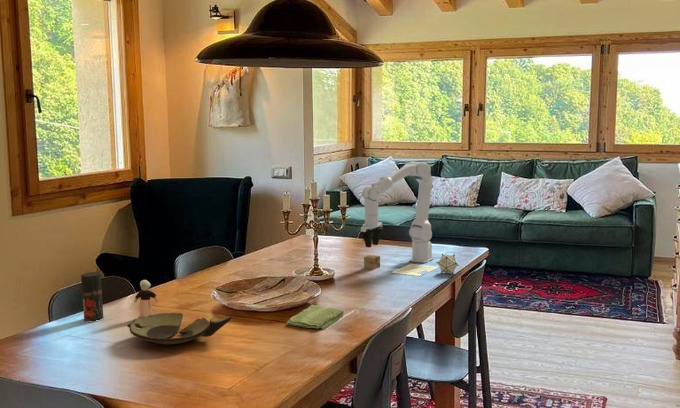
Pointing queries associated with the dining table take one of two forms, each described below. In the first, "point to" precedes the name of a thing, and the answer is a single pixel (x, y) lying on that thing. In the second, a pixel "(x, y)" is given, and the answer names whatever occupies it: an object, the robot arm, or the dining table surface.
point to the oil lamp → (173, 328)
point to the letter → (414, 269)
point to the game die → (447, 264)
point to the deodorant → (92, 296)
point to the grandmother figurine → (145, 299)
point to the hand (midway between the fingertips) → (371, 245)
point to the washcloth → (316, 317)
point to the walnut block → (371, 262)
